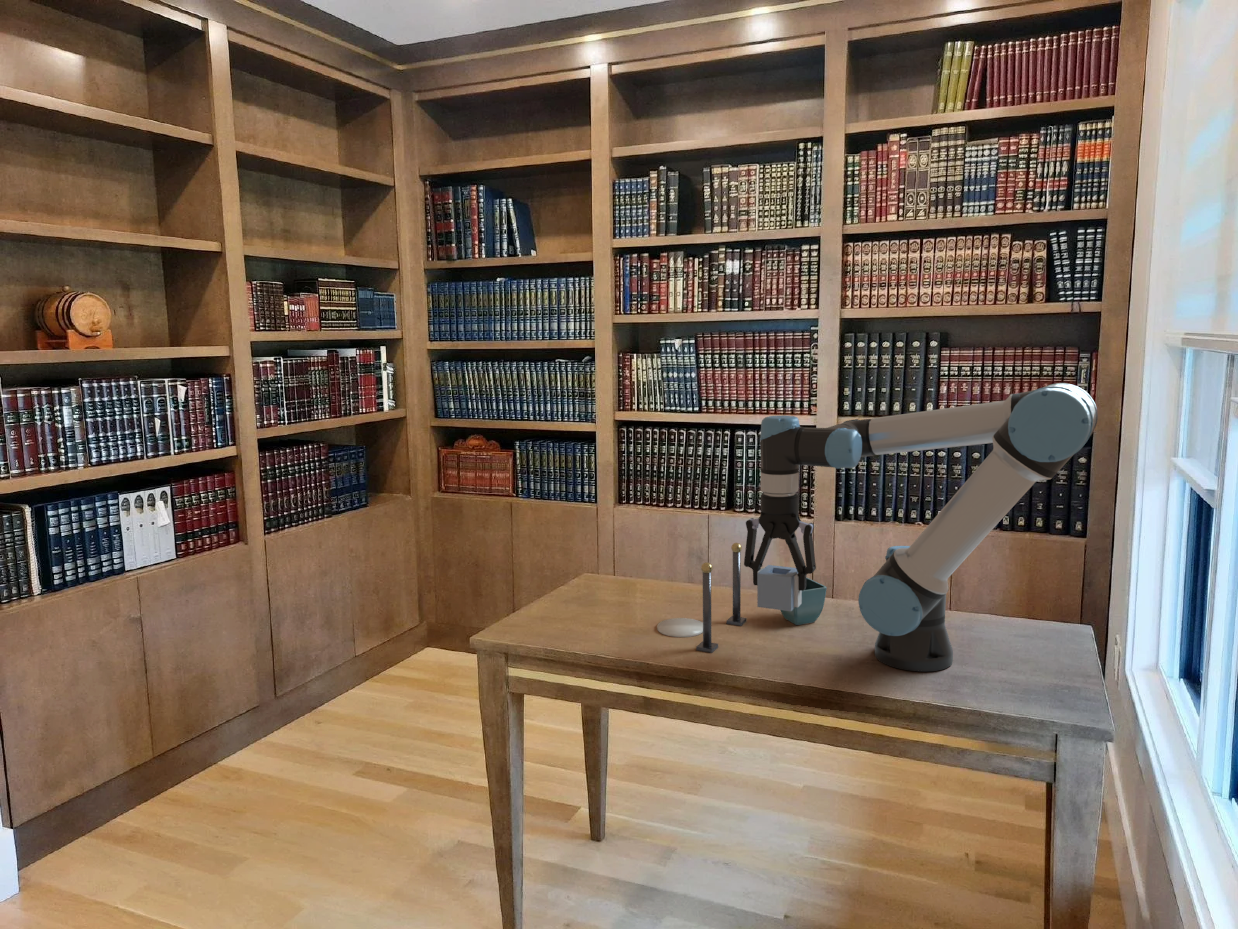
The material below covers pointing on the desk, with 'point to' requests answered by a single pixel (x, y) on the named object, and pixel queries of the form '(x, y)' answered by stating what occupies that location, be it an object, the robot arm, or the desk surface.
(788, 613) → the flower pot
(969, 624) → the desk surface
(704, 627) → the gold-tipped post pair
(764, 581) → the hollow square tube
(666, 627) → the white round disc
